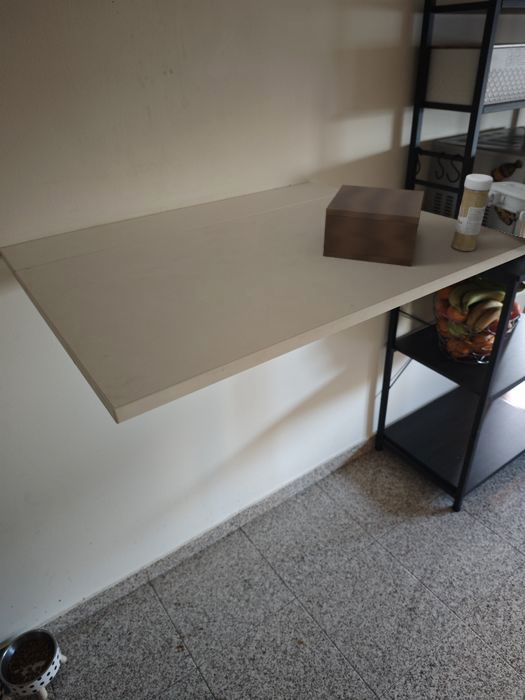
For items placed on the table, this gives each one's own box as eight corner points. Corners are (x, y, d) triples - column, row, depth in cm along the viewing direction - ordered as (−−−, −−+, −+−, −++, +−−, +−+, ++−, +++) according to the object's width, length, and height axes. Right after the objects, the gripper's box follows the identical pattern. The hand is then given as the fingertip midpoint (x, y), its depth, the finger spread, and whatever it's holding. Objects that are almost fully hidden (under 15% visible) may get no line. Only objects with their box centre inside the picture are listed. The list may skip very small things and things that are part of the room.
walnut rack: (416, 235, 102) (424, 191, 97) (410, 266, 89) (419, 217, 84) (339, 227, 106) (342, 184, 101) (322, 255, 93) (326, 208, 88)
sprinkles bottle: (448, 242, 98) (463, 172, 91) (472, 243, 98) (489, 173, 90) (453, 251, 94) (469, 179, 87) (478, 252, 94) (496, 180, 87)
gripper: (518, 171, 105) (465, 178, 101) (606, 197, 89) (547, 207, 85) (510, 201, 108) (458, 209, 104) (593, 231, 92) (536, 242, 88)
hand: (499, 208), depth 94 cm, fingers open, 8 cm apart
